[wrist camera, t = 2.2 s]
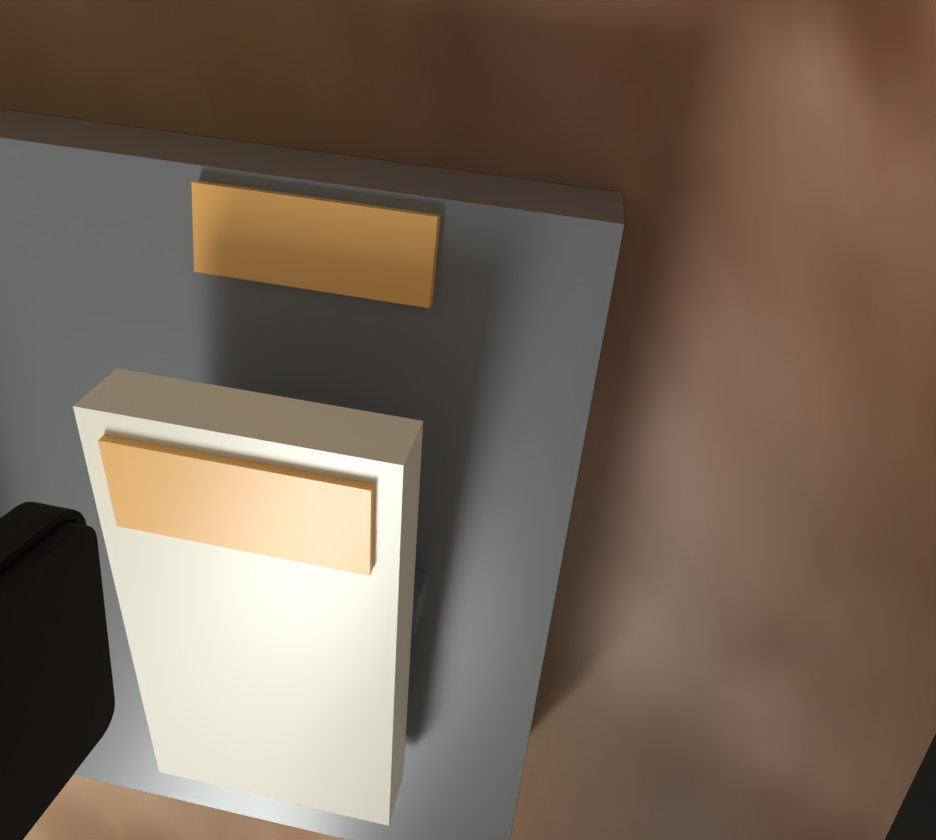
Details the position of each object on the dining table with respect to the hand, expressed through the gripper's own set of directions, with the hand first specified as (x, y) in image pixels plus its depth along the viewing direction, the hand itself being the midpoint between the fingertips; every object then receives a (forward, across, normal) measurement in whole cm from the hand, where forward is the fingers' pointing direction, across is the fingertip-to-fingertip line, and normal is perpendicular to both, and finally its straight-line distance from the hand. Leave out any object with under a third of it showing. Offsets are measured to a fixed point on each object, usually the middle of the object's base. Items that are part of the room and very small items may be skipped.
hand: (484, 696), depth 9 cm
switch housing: (+14, +11, +5) cm, 18 cm away
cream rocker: (+7, +5, +5) cm, 10 cm away
